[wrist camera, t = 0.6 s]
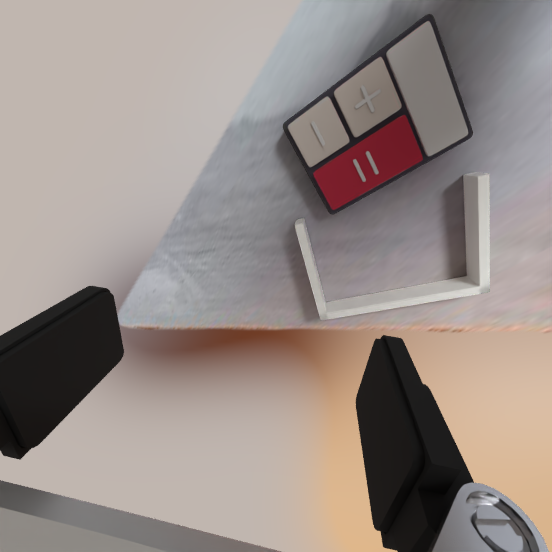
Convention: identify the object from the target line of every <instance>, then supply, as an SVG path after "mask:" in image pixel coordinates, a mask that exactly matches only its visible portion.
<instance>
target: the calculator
mask: <svg viewBox="0 0 552 552" xmlns="http://www.w3.org/2000/svg"><path fill="white" fill-rule="evenodd" d="M283 129H284V131H285V133H286V135H287V137H288V139H289V140H290V142H291V144H292V146H293V148H294V150H295V151H296V153H297V155H298V157H299V159H300V160H301V162H302V164H303V166H304V168H305V170H306V171H307V173H308V175H309V177H310V179H311V181H312V182H313V184H314V186H315V188H316V190H317V192H318V193H319V195H320V197H321V199H322V201H323V203H324V204H325V206H326V208H327V210H328V212H329V213H330V214H335V213H337V212H339V211H341V210H342V209H344V208H346V207H348V206H350V205H351V204H353V203H355V202H357V201H359V200H360V199H362V198H364V197H366V196H367V195H369V194H371V193H373V192H375V191H376V190H378V189H380V188H382V187H384V186H385V185H387V184H389V183H391V182H393V181H394V180H396V179H398V178H400V177H402V176H403V175H405V174H407V173H409V172H411V171H412V170H414V169H416V168H418V167H420V166H421V165H423V164H425V163H427V162H429V161H430V160H432V159H434V158H436V157H438V156H439V155H441V154H443V153H445V152H447V151H448V150H450V149H452V148H454V147H456V146H457V145H459V144H461V143H463V142H465V141H466V140H468V139H470V138H471V137H472V135H473V131H472V128H471V125H470V122H469V119H468V116H467V113H466V110H465V107H464V104H463V101H462V98H461V96H460V93H459V90H458V87H457V84H456V81H455V78H454V75H453V72H452V69H451V66H450V63H449V61H448V58H447V55H446V52H445V49H444V46H443V43H442V40H441V37H440V34H439V31H438V28H437V26H436V23H435V20H434V17H433V16H432V15H431V14H428V15H426V16H425V17H423V18H422V19H420V20H419V21H418V22H416V23H415V24H414V25H413V26H411V27H410V28H409V29H407V30H406V31H405V32H403V33H402V34H401V35H399V36H398V37H397V38H395V39H394V40H393V41H391V42H390V43H389V44H387V45H386V46H385V47H384V48H382V49H381V50H380V51H378V52H377V53H376V54H374V55H373V56H372V57H370V58H369V59H368V60H366V61H365V62H364V63H362V64H361V65H360V66H358V67H357V68H356V69H355V70H353V71H352V72H351V73H349V74H348V75H347V76H345V77H344V78H343V79H341V80H340V81H339V82H337V83H336V84H335V85H333V86H332V87H331V88H329V89H328V90H327V91H325V92H324V93H323V94H322V95H320V96H319V97H318V98H316V99H315V100H314V101H312V102H311V103H310V104H308V105H307V106H306V107H304V108H303V109H302V110H300V111H299V112H298V113H296V114H295V115H294V116H293V117H291V118H290V119H289V120H287V121H286V122H285V123H284V124H283Z"/></svg>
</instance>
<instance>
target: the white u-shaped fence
mask: <svg viewBox="0 0 552 552" xmlns="http://www.w3.org/2000/svg"><path fill="white" fill-rule="evenodd" d="M463 184H464V212H465V240H466V268H467V276H464V277H458V278H453V279H448V280H442V281H437V282H431V283H426V284H421V285H415V286H410V287H404V288H399V289H394V290H388V291H383V292H378V293H372V294H367V295H361V296H356V297H351V298H345V299H340V300H334V301H329V302H326V301H325V297H324V293H323V289H322V286H321V282H320V278H319V274H318V270H317V266H316V262H315V258H314V255H313V251H312V247H311V243H310V239H309V235H308V231H307V227H306V224H305V220H304V218H301V219H297V220H296V222H295V229H296V233H297V236H298V240H299V244H300V247H301V251H302V255H303V258H304V262H305V266H306V269H307V273H308V277H309V280H310V284H311V287H312V291H313V295H314V298H315V302H316V306H317V309H318V313H319V317H320V320H321V321H322V320H328V319H334V318H340V317H346V316H352V315H357V314H363V313H369V312H375V311H381V310H387V309H393V308H399V307H405V306H411V305H417V304H423V303H429V302H435V301H440V300H446V299H452V298H458V297H464V296H470V295H476V294H482V293H488V292H490V174H489V173H478V172H472V173H468V174H464V175H463Z"/></svg>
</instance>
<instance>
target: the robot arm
mask: <svg viewBox="0 0 552 552" xmlns="http://www.w3.org/2000/svg"><path fill="white" fill-rule="evenodd" d="M123 353H124V349H123V344H122V339H121V333H120V327H119V322H118V317H117V311H116V306H115V301H114V296H113V295H112V294H111V293H110V291H109V290H108V289H107V288H101V287H96V286H88V287H86V288H85V289H82V290H81V291H79V292H77V293H75V294H74V295H72V296H70V297H68V298H66V299H65V300H63V301H61V302H59V303H58V304H56V305H54V306H52V307H50V308H49V309H47V310H46V311H43V312H42V313H40V314H38V315H36V316H35V317H33V318H31V319H29V320H28V321H26V322H24V323H22V324H20V325H19V326H17V327H15V328H13V329H11V330H10V331H8V332H6V333H4V334H3V335H1V336H0V451H1V452H2V454H3V455H4V456H8V457H12V458H16V459H21V458H22V457H23V456H24V455H25V454H26V453H27V452H28V451H29V450H30V449H31V448H34V447H35V446H37V445H39V444H40V443H41V442H42V441H43V440H44V439H45V438H46V437H47V436H48V435H49V434H50V433H51V432H52V430H54V429H55V427H56V426H57V425H58V424H59V423H60V422H61V421H62V420H63V419H64V418H65V417H66V416H67V415H68V414H69V413H70V412H71V411H72V410H73V409H74V408H75V407H76V406H77V405H78V404H79V403H80V402H81V401H82V400H83V399H84V398H85V397H86V396H87V394H88V393H90V391H91V390H92V389H93V388H94V387H95V386H96V385H97V384H98V383H99V382H100V381H101V380H102V379H103V378H104V377H105V376H106V375H107V374H108V373H109V372H110V371H111V370H112V369H113V368H114V367H115V366H116V365H117V364H118V363H119V362H120V360H121V359H122V357H123ZM356 410H357V417H358V424H359V431H360V437H361V445H362V451H363V458H364V465H365V472H366V478H367V486H368V493H369V499H370V506H371V512H372V520H373V525H374V528H375V529H376V530H378V531H381V536H382V543H383V547H384V548H388V549H393V550H397V551H398V552H549V551H548V549H547V546H546V543H545V541H544V539H543V537H542V535H541V534H540V532H539V531H538V529H537V528H536V526H535V525H534V523H533V522H532V521H531V520H530V518H529V517H528V516H527V515H526V514H525V513H524V512H523V510H522V509H521V508H520V507H518V506H517V505H516V504H515V503H514V502H513V501H511V500H510V499H509V498H508V497H507V496H504V495H503V494H502V493H500V492H499V491H497V490H495V489H494V488H491V487H489V486H487V485H484V484H480V483H474V482H473V479H472V477H471V475H470V473H469V471H468V469H467V466H466V464H465V462H464V460H463V458H462V456H461V454H460V452H459V450H458V447H457V445H456V443H455V441H454V439H453V437H452V435H451V433H450V431H449V428H448V426H447V424H446V422H445V420H444V418H443V416H442V414H441V411H440V409H439V407H438V405H437V403H436V401H435V399H434V397H433V395H432V393H431V391H430V389H429V388H428V386H426V385H425V384H423V383H422V382H421V379H420V377H419V375H418V372H417V370H416V368H415V366H414V364H413V361H412V359H411V357H410V355H409V353H408V350H407V348H406V346H405V344H404V342H403V340H402V339H401V338H396V337H391V336H385V335H383V336H382V337H381V339H375V341H374V344H373V347H372V350H371V353H370V356H369V360H368V362H367V366H366V369H365V372H364V375H363V378H362V381H361V384H360V387H359V390H358V393H357V397H356ZM0 552H281V551H277V550H273V549H269V548H265V547H261V546H257V545H254V544H250V543H246V542H242V541H238V540H234V539H230V538H227V537H223V536H219V535H215V534H211V533H207V532H203V531H199V530H196V529H191V528H188V527H184V526H180V525H176V524H172V523H168V522H165V521H160V520H157V519H153V518H149V517H145V516H141V515H137V514H133V513H129V512H125V511H120V510H117V509H113V508H109V507H105V506H101V505H97V504H93V503H89V502H85V501H81V500H77V499H73V498H69V497H65V496H61V495H57V494H53V493H49V492H45V491H41V490H37V489H33V488H29V487H25V486H21V485H17V484H13V483H9V482H4V481H1V480H0Z"/></svg>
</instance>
